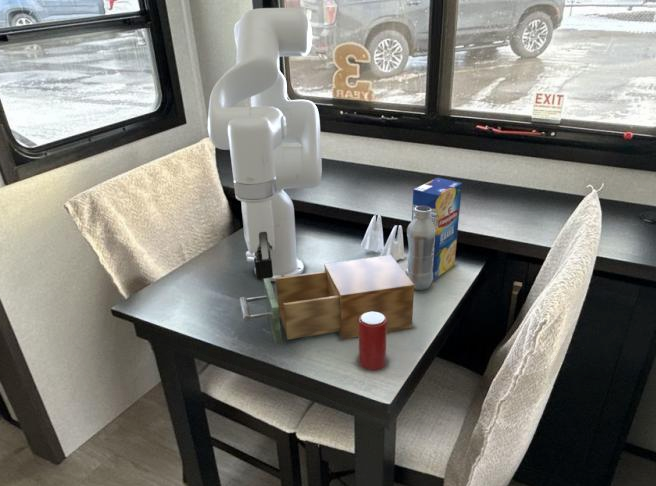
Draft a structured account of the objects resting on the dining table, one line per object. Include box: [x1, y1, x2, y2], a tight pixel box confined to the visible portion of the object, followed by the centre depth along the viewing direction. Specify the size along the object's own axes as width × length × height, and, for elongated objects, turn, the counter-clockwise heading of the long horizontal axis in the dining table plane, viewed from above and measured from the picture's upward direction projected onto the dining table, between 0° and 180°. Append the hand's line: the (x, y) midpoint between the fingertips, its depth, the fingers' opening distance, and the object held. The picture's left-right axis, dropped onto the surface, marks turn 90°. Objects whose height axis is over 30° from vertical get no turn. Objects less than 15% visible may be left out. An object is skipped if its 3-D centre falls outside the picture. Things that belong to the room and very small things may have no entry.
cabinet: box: [323, 255, 415, 340], centre depth 120 cm, size 16×15×11 cm
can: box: [358, 312, 387, 371], centre depth 105 cm, size 5×5×10 cm
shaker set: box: [360, 214, 405, 262], centre depth 146 cm, size 12×4×11 cm, turn 52°
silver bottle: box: [405, 206, 436, 291], centre depth 128 cm, size 6×7×20 cm
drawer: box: [239, 270, 341, 345], centre depth 116 cm, size 20×13×9 cm, turn 104°
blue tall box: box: [411, 177, 463, 281], centre depth 135 cm, size 7×11×22 cm, turn 140°
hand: (264, 276), depth 109 cm, fingers closed
